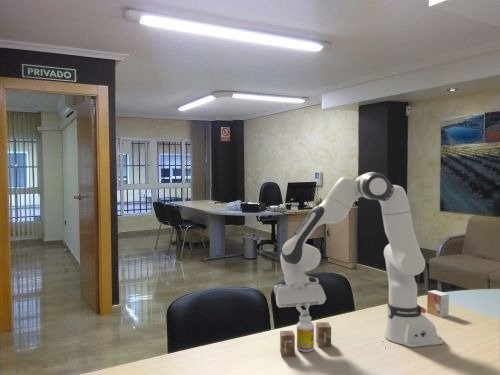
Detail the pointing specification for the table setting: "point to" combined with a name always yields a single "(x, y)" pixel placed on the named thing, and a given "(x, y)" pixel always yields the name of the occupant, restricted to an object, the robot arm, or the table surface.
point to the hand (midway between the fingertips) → (305, 315)
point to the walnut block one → (323, 334)
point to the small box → (438, 303)
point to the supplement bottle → (305, 334)
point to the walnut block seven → (287, 344)
